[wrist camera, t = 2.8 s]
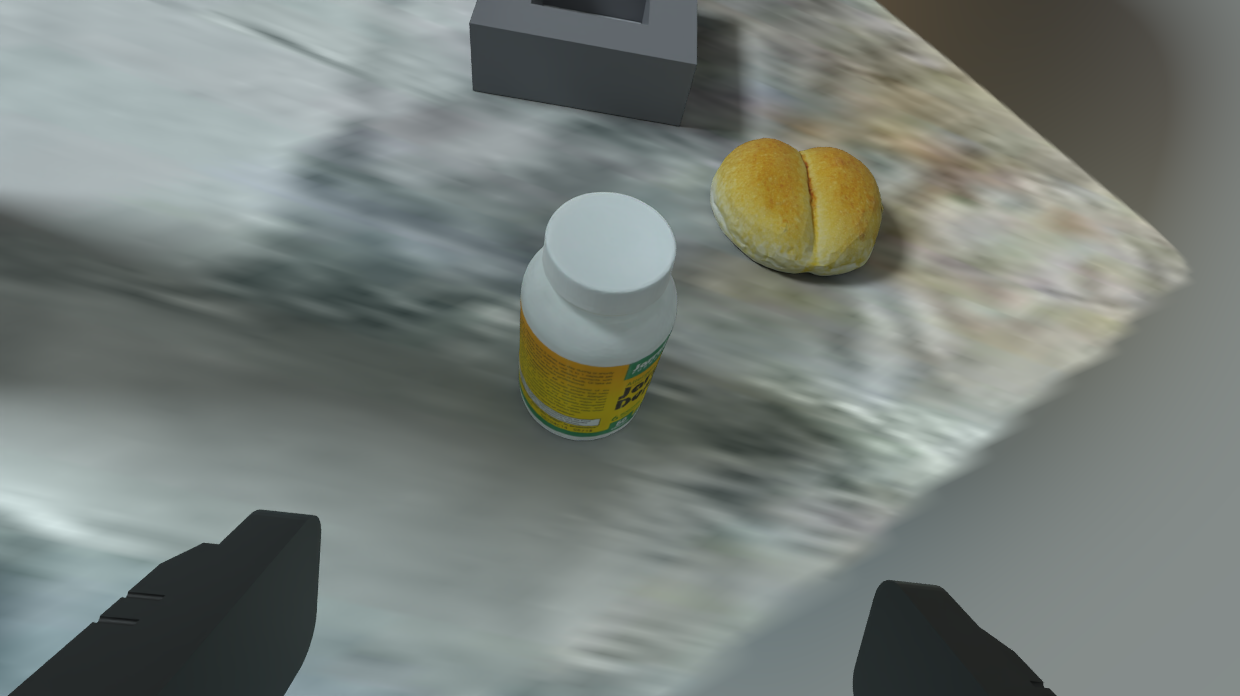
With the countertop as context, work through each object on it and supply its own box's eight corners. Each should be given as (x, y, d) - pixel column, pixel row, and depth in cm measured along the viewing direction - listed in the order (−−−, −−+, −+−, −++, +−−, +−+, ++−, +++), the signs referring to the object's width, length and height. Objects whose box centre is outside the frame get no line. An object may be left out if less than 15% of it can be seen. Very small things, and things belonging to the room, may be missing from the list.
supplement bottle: (549, 316, 29) (566, 151, 21) (659, 361, 28) (720, 211, 20) (495, 414, 26) (490, 267, 18) (617, 465, 25) (668, 338, 17)
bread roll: (704, 158, 36) (725, 98, 33) (853, 183, 37) (888, 127, 34) (706, 270, 32) (730, 215, 28) (874, 295, 33) (917, 244, 29)
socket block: (472, 90, 36) (468, 11, 32) (507, -23, 42) (507, -99, 38) (679, 125, 37) (699, 54, 33) (682, 11, 43) (699, -60, 39)
